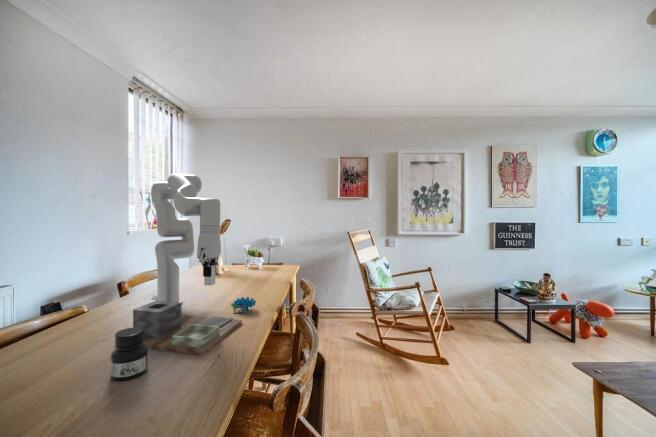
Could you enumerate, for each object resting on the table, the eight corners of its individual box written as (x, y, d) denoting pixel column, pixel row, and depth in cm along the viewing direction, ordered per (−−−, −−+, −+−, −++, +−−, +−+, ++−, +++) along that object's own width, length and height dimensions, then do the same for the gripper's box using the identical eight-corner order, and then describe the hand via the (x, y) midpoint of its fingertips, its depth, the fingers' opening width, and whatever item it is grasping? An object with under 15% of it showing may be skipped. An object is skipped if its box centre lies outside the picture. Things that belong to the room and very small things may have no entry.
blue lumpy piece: (257, 304, 146) (253, 294, 138) (257, 316, 142) (253, 306, 134) (234, 308, 145) (228, 297, 137) (233, 319, 141) (227, 309, 133)
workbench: (114, 345, 104) (114, 313, 104) (171, 317, 132) (171, 292, 131) (201, 355, 98) (201, 321, 98) (241, 323, 126) (242, 297, 125)
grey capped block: (200, 284, 120) (200, 262, 119) (205, 283, 123) (205, 260, 122) (214, 285, 119) (214, 262, 118) (218, 283, 122) (219, 261, 121)
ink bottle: (104, 384, 81) (104, 340, 80) (113, 368, 89) (113, 328, 89) (147, 377, 85) (146, 335, 84) (151, 362, 93) (151, 324, 92)
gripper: (212, 228, 129) (212, 271, 129) (188, 230, 113) (188, 279, 113) (229, 228, 127) (228, 272, 128) (207, 231, 111) (206, 280, 112)
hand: (209, 275), depth 120 cm, fingers closed on grey capped block, 3 cm apart
